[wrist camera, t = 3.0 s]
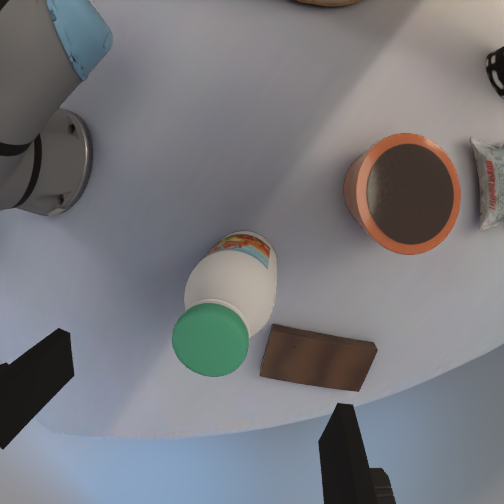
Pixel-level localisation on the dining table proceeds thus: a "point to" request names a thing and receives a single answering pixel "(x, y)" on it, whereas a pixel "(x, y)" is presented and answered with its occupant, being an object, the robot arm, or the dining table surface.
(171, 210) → the dining table surface
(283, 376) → the walnut board
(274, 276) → the milk bottle
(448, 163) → the flower pot
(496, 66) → the white-spotted black cylinder
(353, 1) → the ceramic vessel
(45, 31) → the robot arm
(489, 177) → the packaged food
